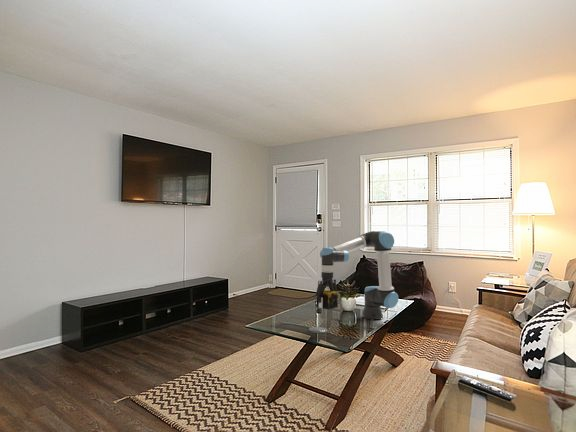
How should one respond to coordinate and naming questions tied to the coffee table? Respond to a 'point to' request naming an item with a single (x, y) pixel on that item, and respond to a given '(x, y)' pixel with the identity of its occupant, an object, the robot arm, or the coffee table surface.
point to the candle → (329, 299)
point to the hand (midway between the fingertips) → (326, 306)
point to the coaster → (318, 330)
